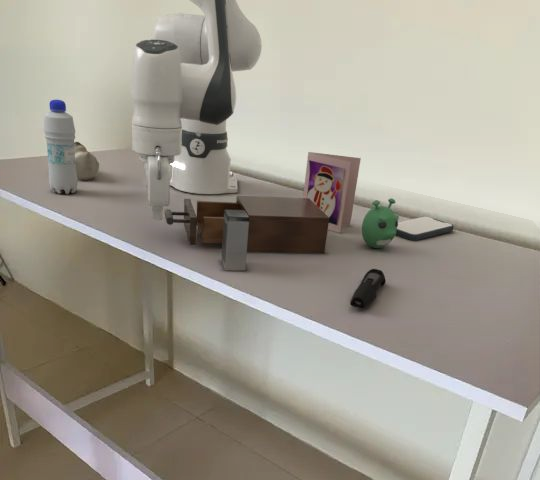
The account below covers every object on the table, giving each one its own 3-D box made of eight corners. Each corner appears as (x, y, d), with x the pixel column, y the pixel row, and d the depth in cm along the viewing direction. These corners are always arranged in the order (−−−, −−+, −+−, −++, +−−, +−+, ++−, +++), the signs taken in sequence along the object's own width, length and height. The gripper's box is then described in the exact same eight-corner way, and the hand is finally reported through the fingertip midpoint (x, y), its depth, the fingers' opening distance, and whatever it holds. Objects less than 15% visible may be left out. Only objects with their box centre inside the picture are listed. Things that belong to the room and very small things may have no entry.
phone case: (413, 242, 131) (455, 232, 140) (414, 235, 130) (456, 225, 140) (381, 231, 136) (424, 222, 146) (383, 224, 136) (425, 215, 145)
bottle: (70, 196, 137) (64, 102, 128) (43, 192, 138) (34, 98, 129) (84, 190, 143) (79, 100, 134) (58, 187, 144) (51, 96, 135)
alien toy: (376, 255, 120) (385, 205, 115) (351, 243, 125) (359, 195, 120) (402, 252, 123) (411, 203, 118) (377, 240, 129) (385, 193, 124)
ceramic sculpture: (66, 145, 144) (44, 138, 154) (69, 182, 148) (47, 173, 158) (108, 144, 150) (84, 137, 160) (110, 180, 154) (86, 171, 164)
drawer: (167, 244, 111) (167, 216, 109) (163, 223, 123) (163, 197, 120) (265, 247, 115) (268, 219, 113) (252, 226, 127) (254, 201, 124)
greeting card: (297, 220, 137) (305, 152, 130) (318, 216, 142) (326, 150, 135) (337, 233, 131) (348, 162, 124) (357, 228, 136) (368, 160, 129)
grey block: (224, 270, 105) (227, 216, 100) (221, 261, 108) (223, 209, 104) (245, 270, 105) (249, 217, 101) (241, 262, 109) (245, 210, 105)
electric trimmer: (342, 312, 94) (345, 293, 92) (365, 280, 107) (368, 263, 105) (366, 317, 93) (369, 298, 91) (386, 284, 106) (389, 267, 104)
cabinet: (246, 252, 114) (248, 215, 111) (234, 229, 127) (236, 195, 123) (324, 253, 118) (329, 217, 114) (305, 231, 130) (309, 198, 127)
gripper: (178, 153, 100) (177, 234, 107) (171, 133, 118) (170, 204, 124) (139, 151, 99) (141, 233, 105) (138, 131, 116) (139, 203, 123)
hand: (157, 217), depth 115 cm, fingers closed
